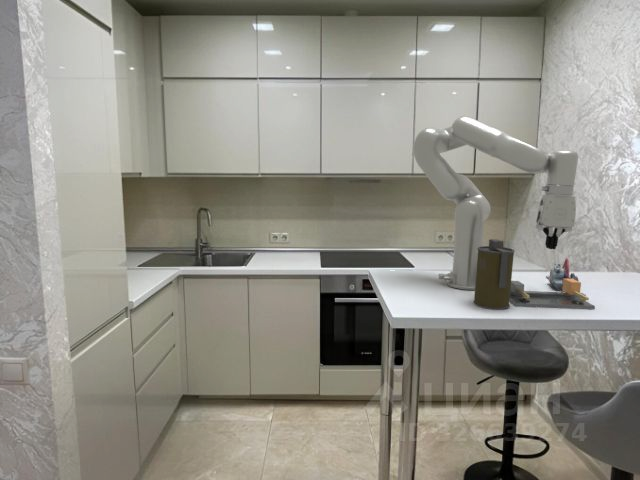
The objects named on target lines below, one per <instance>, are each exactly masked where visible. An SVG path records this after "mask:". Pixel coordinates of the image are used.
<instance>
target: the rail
mask: <svg viewBox="0 0 640 480" xmlns="http://www.w3.org/2000/svg"><path fill="white" fill-rule="evenodd" d="M524 292H525V293H527V294H528V295H530V298H534V299H562V300H581V297H579V296H577V295H570V294H568V293H566V292H564V291H536V290H524ZM580 293H581V294H583V295H585V296H587V295H586V294H585V293H583V292H580ZM510 298H523V295H522V294H514V293H513V292H511V291H510ZM584 301H586V300H585V299H584Z"/></svg>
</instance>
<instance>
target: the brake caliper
mask: <svg viewBox="0 0 640 480" xmlns="http://www.w3.org/2000/svg"><path fill="white" fill-rule="evenodd" d="M553 266H554V267H553V268H551V269H550V272H549V275H545V279H547V280H548V281H549V282H548V283H546V284H547V285H548V286H552V287H554V288H555V289H556V290H557V291H559V292H563V291H562V287H563V279H574V280H577V281H579V277H578V275H575V273H574V272H571V273H570V263H569V258H568V257H567V258H565V260H564V263H563V265H562V267H561V263H554V265H553ZM579 282H580V281H579ZM547 285H546V286H547Z"/></svg>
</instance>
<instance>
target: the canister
mask: <svg viewBox="0 0 640 480" xmlns="http://www.w3.org/2000/svg"><path fill="white" fill-rule="evenodd" d="M504 243H505V242H504V240H500V239H491V238H490V239H488V245H483V246H481V247H478V248H477V249H478V259H477V271H476V283H475V290H474V295H473V296H474V299H473V304H474V305H476V306H477V307H481V308H483V309H488V310H497V311H498V310H506V309H510V306H511V305H510V301H509V300H510V289H511V281H512V278H513V277H512V275H513V265H514V255H515V249H513V248H509V247H504Z"/></svg>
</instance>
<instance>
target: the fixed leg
mask: <svg viewBox="0 0 640 480" xmlns="http://www.w3.org/2000/svg"><path fill="white" fill-rule="evenodd" d="M510 291H511V292H513V293H514V294H522V295H523V300H526V298H530V295H528V294H527V293H525V292H524V291H525V284H524V283H522V282H521V281H519V280H511V289H510Z"/></svg>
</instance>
